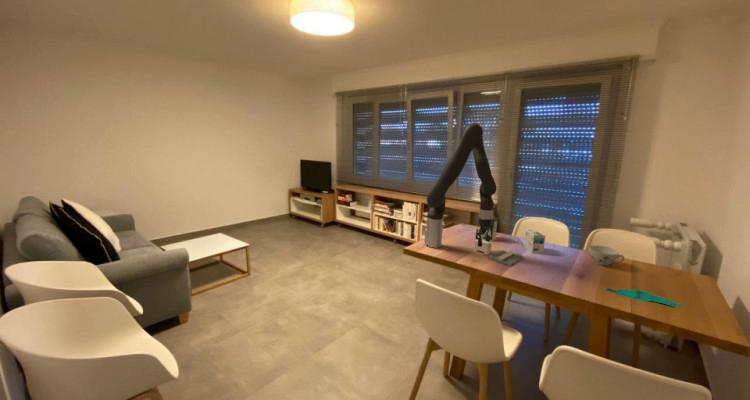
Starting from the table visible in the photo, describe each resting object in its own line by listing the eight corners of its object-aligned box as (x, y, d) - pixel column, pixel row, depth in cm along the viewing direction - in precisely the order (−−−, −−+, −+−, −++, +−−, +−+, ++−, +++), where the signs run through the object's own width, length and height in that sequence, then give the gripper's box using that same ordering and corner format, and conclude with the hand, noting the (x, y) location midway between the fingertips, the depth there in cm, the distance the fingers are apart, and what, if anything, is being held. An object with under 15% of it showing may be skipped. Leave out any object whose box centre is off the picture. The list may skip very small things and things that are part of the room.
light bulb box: (543, 253, 178) (546, 235, 176) (531, 253, 178) (534, 235, 176) (534, 247, 188) (536, 229, 186) (523, 246, 189) (525, 229, 186)
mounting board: (488, 259, 168) (488, 257, 168) (502, 252, 179) (502, 250, 178) (510, 266, 159) (510, 264, 159) (523, 258, 170) (523, 256, 170)
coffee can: (485, 241, 196) (487, 220, 193) (475, 236, 205) (477, 215, 203) (499, 240, 199) (501, 219, 196) (488, 235, 209) (490, 215, 206)
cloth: (686, 304, 127) (688, 299, 127) (687, 317, 118) (688, 312, 117) (608, 282, 145) (609, 278, 144) (603, 293, 135) (604, 288, 135)
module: (473, 250, 181) (474, 240, 179) (477, 248, 184) (478, 239, 182) (486, 254, 175) (487, 244, 173) (490, 252, 178) (491, 242, 176)
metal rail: (497, 259, 165) (497, 257, 165) (509, 253, 174) (509, 251, 174) (502, 261, 163) (502, 259, 163) (514, 254, 172) (514, 252, 172)
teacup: (585, 263, 165) (588, 249, 163) (588, 257, 174) (590, 243, 172) (621, 272, 155) (624, 257, 154) (622, 264, 165) (625, 250, 163)
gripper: (486, 213, 182) (484, 240, 185) (472, 217, 173) (470, 245, 176) (498, 216, 176) (496, 243, 179) (485, 220, 167) (483, 249, 170)
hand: (483, 244), depth 178 cm, fingers open, 8 cm apart
